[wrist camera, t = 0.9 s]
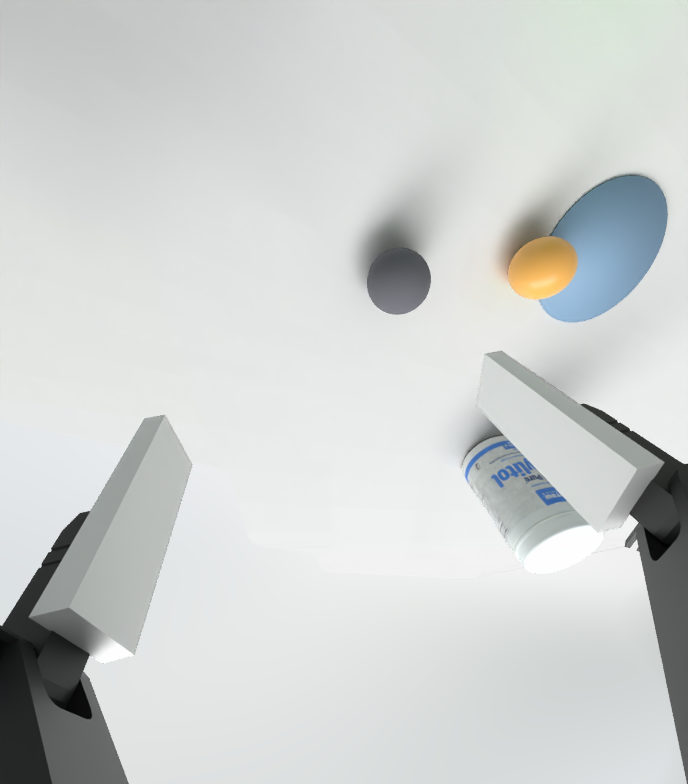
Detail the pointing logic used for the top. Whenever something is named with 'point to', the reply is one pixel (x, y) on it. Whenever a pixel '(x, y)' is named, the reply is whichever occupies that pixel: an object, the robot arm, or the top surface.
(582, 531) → the supplement tub
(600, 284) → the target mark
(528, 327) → the top surface
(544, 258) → the object ball
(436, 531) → the top surface
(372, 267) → the gray sphere
